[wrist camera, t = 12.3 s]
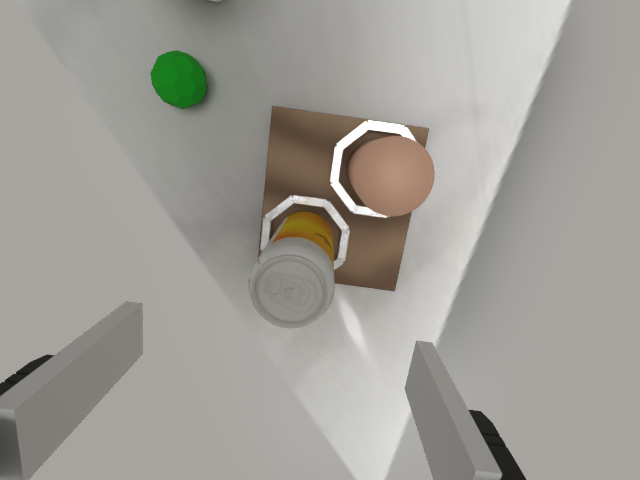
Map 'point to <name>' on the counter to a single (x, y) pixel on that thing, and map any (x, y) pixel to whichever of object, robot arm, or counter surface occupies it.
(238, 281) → the counter surface
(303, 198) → the socket collars
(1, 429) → the robot arm
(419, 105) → the counter surface
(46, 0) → the counter surface
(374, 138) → the pin board
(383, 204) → the pin
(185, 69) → the polyhedron
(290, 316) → the beer can
